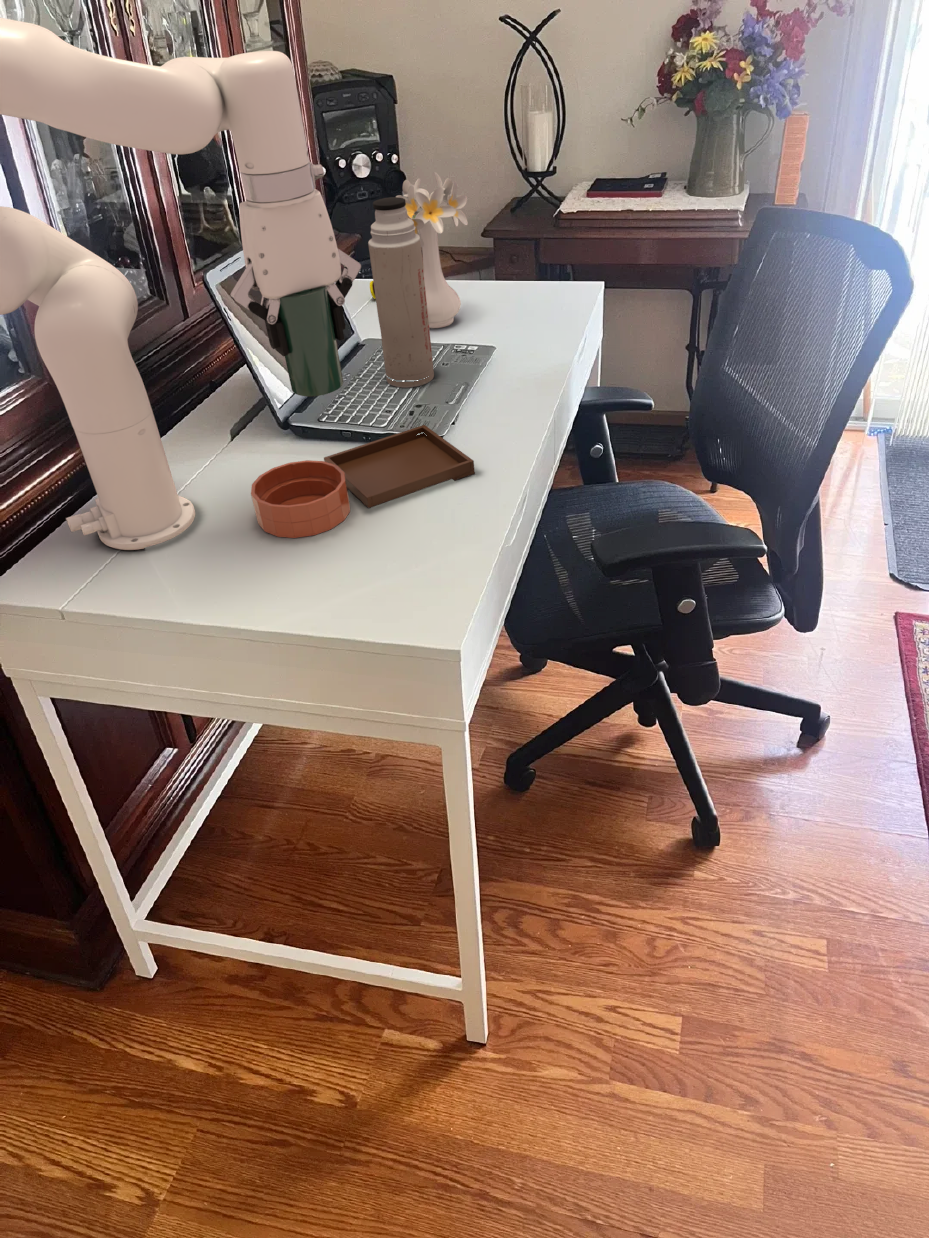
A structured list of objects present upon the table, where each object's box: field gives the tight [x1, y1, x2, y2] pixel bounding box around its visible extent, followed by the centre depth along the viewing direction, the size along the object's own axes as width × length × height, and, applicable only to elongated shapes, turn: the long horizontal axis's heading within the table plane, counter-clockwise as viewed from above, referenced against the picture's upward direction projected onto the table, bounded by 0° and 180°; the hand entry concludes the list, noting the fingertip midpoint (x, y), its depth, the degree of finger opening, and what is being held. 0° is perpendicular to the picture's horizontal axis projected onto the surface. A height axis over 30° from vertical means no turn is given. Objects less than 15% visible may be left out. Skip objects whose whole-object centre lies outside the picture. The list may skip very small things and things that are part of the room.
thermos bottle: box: [367, 196, 435, 389], centre depth 148 cm, size 8×8×28 cm
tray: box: [323, 424, 476, 509], centre depth 130 cm, size 16×14×2 cm
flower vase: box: [395, 171, 469, 329], centre depth 168 cm, size 13×18×25 cm
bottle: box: [278, 286, 344, 397], centre depth 111 cm, size 6×6×17 cm
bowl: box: [250, 459, 351, 539], centre depth 122 cm, size 12×12×5 cm
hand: (309, 343), depth 113 cm, fingers closed on bottle, 6 cm apart
